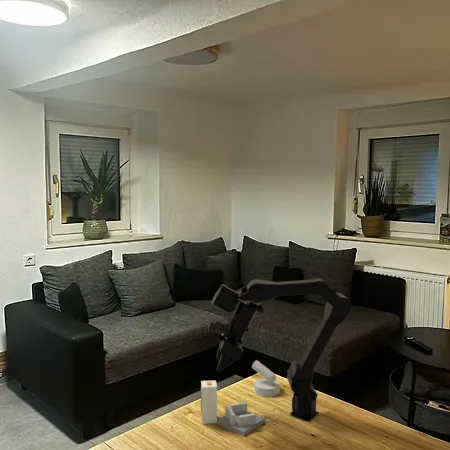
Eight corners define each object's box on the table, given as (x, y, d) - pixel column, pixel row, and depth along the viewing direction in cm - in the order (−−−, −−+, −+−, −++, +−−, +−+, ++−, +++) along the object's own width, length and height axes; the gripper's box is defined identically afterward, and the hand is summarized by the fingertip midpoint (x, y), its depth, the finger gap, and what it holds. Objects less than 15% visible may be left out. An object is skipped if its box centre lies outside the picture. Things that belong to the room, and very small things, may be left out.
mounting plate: (265, 421, 136) (265, 408, 136) (243, 436, 128) (243, 421, 128) (238, 410, 143) (238, 397, 142) (216, 423, 135) (216, 410, 135)
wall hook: (259, 356, 163) (284, 362, 157) (259, 382, 164) (284, 389, 158) (245, 363, 156) (271, 370, 150) (245, 390, 157) (271, 399, 151)
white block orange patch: (216, 415, 140) (215, 379, 139) (217, 422, 136) (217, 385, 135) (200, 416, 140) (200, 380, 139) (201, 423, 135) (201, 386, 134)
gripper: (216, 299, 146) (194, 342, 147) (218, 316, 127) (192, 365, 128) (248, 315, 147) (225, 358, 148) (254, 334, 128) (228, 382, 129)
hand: (217, 365), depth 138 cm, fingers open, 9 cm apart
